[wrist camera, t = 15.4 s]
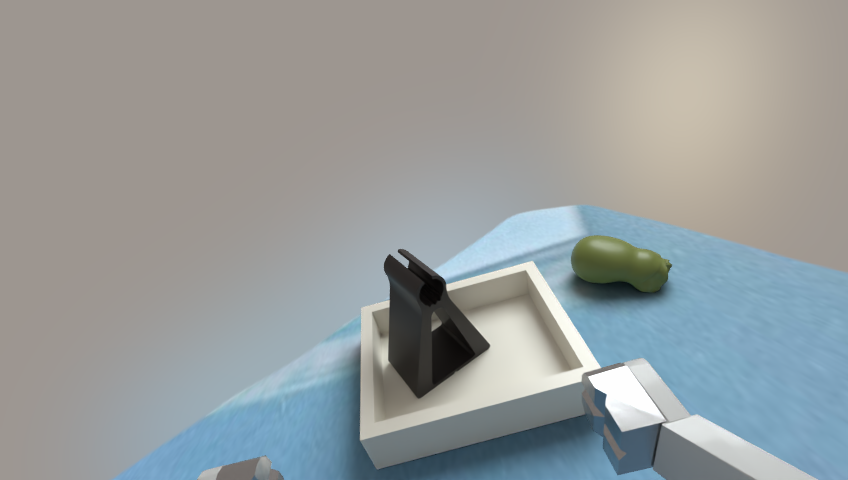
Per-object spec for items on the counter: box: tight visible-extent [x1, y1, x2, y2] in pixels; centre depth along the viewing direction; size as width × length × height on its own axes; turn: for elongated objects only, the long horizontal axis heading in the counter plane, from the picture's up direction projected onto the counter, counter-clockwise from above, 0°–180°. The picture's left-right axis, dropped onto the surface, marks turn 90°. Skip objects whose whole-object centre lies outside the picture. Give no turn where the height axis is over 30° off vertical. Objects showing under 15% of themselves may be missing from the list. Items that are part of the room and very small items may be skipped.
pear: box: [571, 235, 672, 292], centre depth 45 cm, size 6×5×10 cm
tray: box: [360, 261, 601, 469], centre depth 39 cm, size 20×16×4 cm
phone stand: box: [384, 249, 490, 399], centre depth 38 cm, size 9×6×12 cm, turn 122°
